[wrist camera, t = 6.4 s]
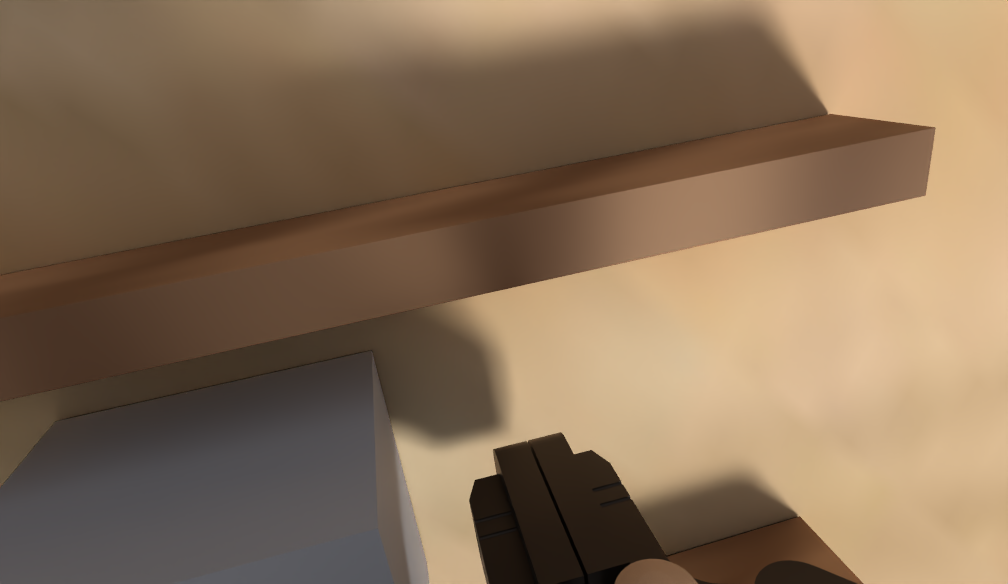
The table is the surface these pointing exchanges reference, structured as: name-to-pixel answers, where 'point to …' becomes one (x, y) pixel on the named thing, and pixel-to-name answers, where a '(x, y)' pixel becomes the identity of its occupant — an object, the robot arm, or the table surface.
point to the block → (220, 489)
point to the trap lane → (458, 265)
